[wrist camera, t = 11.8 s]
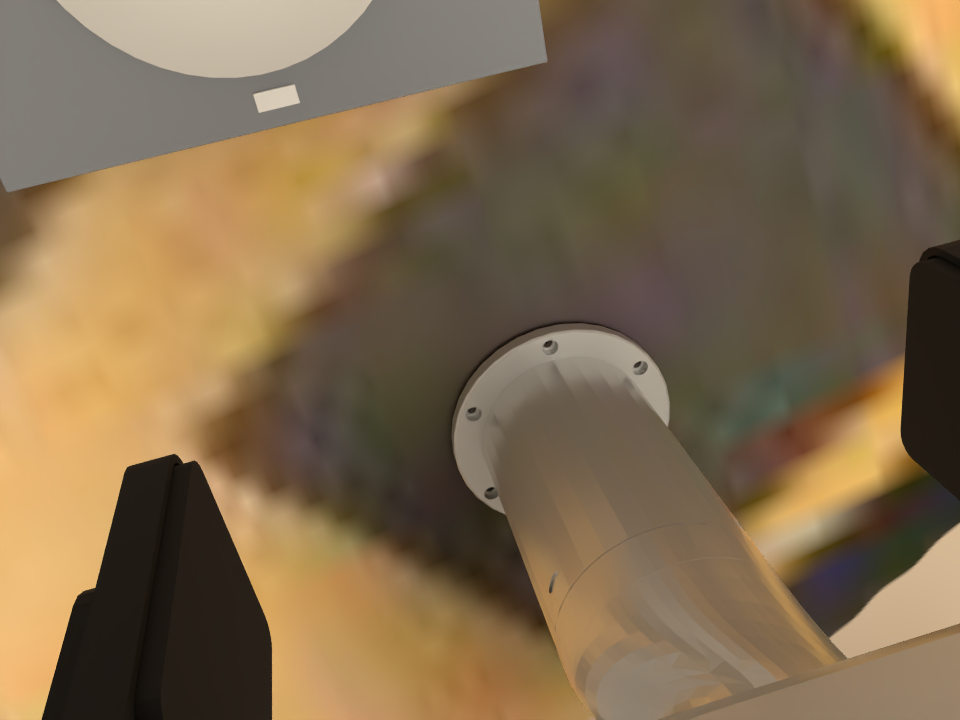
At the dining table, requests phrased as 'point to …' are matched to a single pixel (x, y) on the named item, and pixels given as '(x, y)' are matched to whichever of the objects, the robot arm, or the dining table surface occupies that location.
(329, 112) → the dial board
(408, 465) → the dining table surface
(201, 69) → the dial
